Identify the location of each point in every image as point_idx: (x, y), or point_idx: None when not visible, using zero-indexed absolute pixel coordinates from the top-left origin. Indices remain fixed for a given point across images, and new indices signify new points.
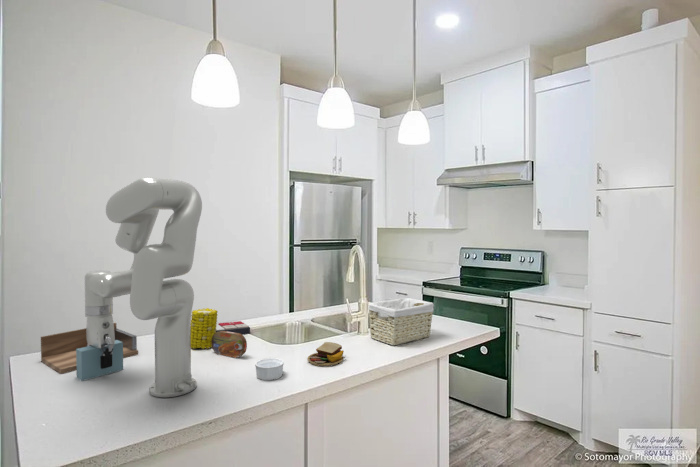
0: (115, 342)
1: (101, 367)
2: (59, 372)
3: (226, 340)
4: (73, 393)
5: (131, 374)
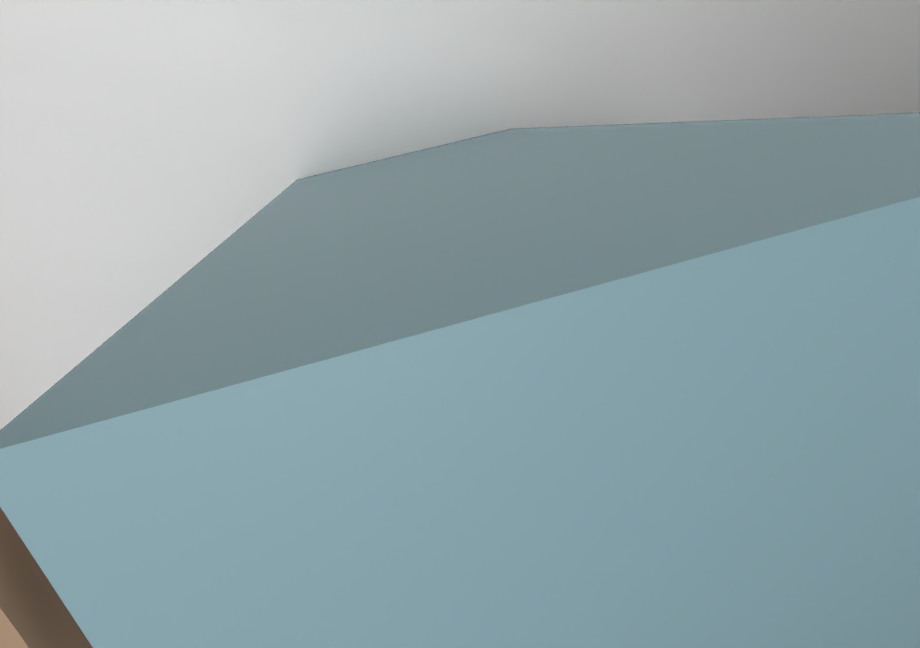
0: (826, 608)
1: None
2: None
3: None
4: None
5: (819, 75)
